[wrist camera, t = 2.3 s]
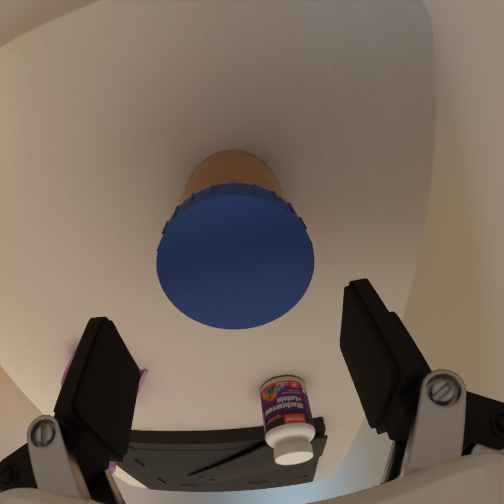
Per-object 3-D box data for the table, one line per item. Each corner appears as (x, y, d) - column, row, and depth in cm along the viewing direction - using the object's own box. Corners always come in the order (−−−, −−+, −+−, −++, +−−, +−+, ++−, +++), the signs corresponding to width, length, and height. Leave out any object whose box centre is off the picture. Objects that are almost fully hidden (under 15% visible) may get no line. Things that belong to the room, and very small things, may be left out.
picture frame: (322, 416, 39) (85, 425, 38) (327, 437, 35) (81, 443, 35) (311, 473, 54) (150, 481, 54) (313, 486, 51) (149, 493, 50)
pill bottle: (298, 369, 32) (315, 444, 24) (308, 392, 35) (324, 459, 26) (253, 382, 33) (260, 457, 24) (267, 403, 35) (276, 470, 27)
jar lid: (302, 171, 13) (312, 182, 11) (308, 297, 16) (315, 318, 15) (145, 196, 13) (135, 210, 11) (182, 315, 16) (179, 337, 15)
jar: (272, 144, 20) (305, 183, 12) (281, 229, 23) (310, 310, 15) (178, 159, 20) (143, 209, 12) (196, 242, 23) (182, 328, 15)
